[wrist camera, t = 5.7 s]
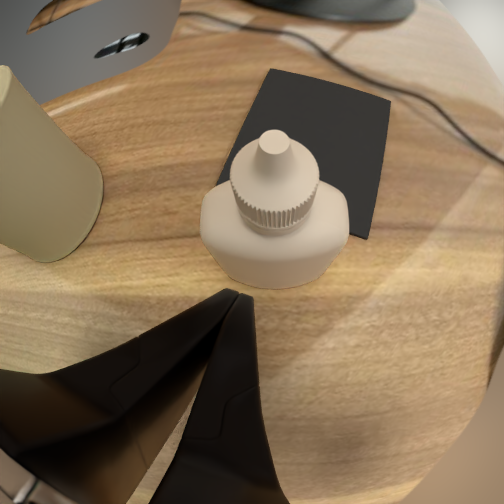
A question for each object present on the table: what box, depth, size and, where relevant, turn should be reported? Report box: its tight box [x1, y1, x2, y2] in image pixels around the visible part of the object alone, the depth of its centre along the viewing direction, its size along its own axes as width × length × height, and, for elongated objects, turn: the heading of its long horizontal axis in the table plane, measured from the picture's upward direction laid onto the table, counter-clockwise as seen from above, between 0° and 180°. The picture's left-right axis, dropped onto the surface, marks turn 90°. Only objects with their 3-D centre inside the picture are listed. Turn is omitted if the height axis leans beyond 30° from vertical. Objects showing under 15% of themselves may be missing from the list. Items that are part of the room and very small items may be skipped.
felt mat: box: [216, 68, 391, 239], centre depth 20 cm, size 12×10×1 cm
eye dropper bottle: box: [200, 130, 349, 289], centre depth 13 cm, size 4×6×12 cm
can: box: [0, 65, 103, 263], centre depth 15 cm, size 9×9×12 cm
